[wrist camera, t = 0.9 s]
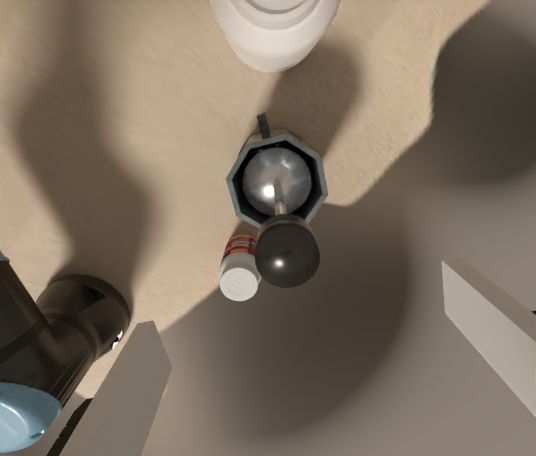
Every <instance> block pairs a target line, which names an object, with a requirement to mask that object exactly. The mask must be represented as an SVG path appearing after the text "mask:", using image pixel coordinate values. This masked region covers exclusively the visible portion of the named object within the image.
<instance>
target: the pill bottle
mask: <svg viewBox="0 0 536 456" xmlns="http://www.w3.org/2000/svg"><path fill="white" fill-rule="evenodd" d="M255 250H256V238H255V237H253V236H251V235H246V234H241V235H237V236H235V237H233V238H232V239H231V240H230V241H229V242H228V243H227V245H226V248H225V252H224V255H223V259H222V262H221V265H220V271H219V272H220V278H221V279H220V288H221V290H222V292H223V294H224V295H225V296H226V297H228V298H229V299H232V300H235V301H244V300H247V299H249V298H251V297H252V296H253V295H254V294H255V293H256V291H257V288H258V284H259V282H260V280H261V277H262V276H261V275H260V274H259V272H258V270H257V268H256V264H255Z"/></svg>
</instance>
